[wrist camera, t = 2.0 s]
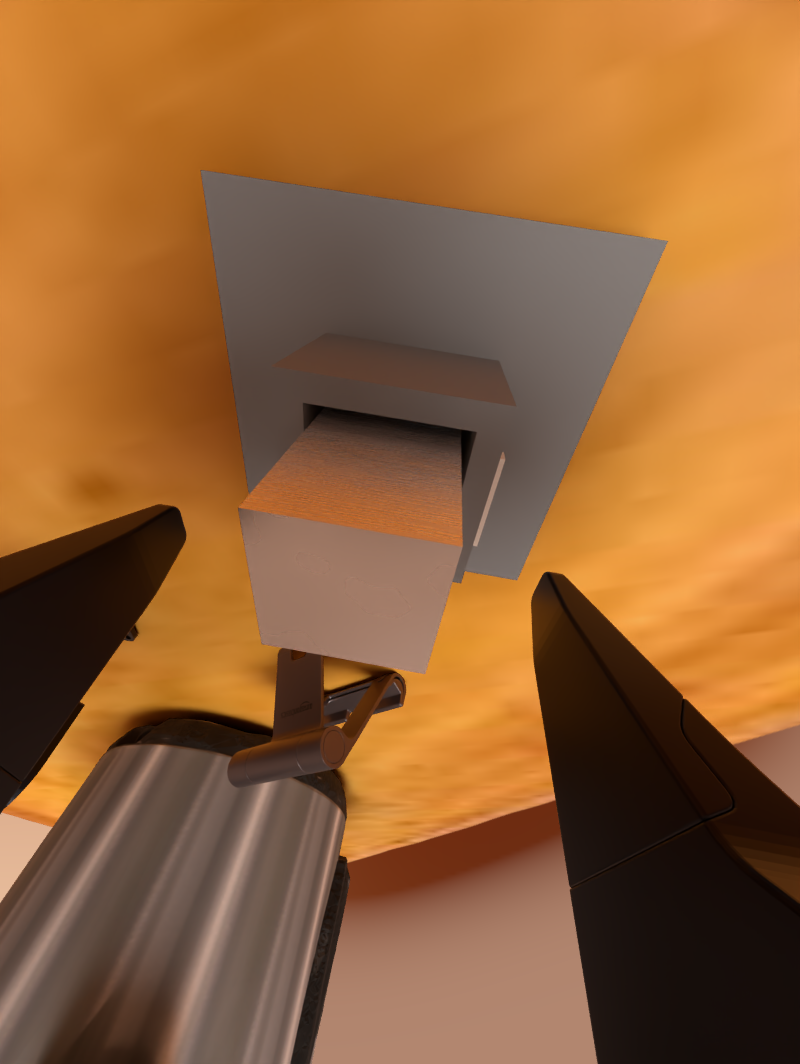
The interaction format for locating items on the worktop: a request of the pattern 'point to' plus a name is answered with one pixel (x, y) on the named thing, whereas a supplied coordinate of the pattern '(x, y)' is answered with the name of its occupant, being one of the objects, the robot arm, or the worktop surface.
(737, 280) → the worktop surface
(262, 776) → the portable electronic device stand
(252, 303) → the grey socket plate
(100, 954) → the pressure cooker
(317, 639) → the steel column
